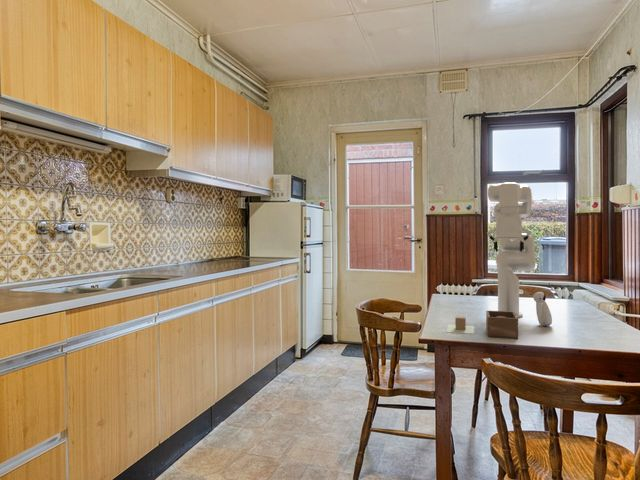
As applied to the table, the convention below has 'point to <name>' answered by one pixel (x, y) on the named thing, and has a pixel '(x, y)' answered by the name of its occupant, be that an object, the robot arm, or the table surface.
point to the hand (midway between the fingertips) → (508, 251)
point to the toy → (542, 309)
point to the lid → (460, 326)
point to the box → (502, 324)
